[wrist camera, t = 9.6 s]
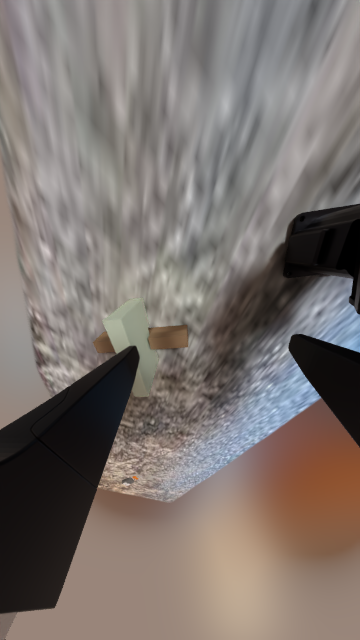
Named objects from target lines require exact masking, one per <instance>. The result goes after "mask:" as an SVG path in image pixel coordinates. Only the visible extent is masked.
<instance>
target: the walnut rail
mask: <svg viewBox="0 0 360 640" xmlns="http://www.w3.org/2000/svg"><path fill="white" fill-rule="evenodd" d="M148 330H149V334H150V335H149V337H148V340H149V343H150V347H151V350H152V349H167V348H182V347H188V329H187V325H180V326H168V327H156V328H148ZM93 344H94V346H95V348H96V350H97V352H98V353H105V352H115V350H114V347H113V345H112V343H111V340H110V338H109V336H108V333H107V332H103V333H102V334H101V335H100V336H99V337H98V338H97V339H96V340H95V341H94V342H93Z"/></svg>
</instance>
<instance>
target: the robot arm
mask: <svg viewBox="0 0 360 640" xmlns="http://www.w3.org/2000/svg"><path fill="white" fill-rule="evenodd" d="M300 217H302V220H301V221H300V220H299V219H300ZM285 261H286V263H285V268H284V273H283V276H284V277H286V278H292V277H301V276H310V275H319V274H326V275H332V276H339V277H345V278H351V279H353V286H352V294H351V296H350V297H349V303H350V304H352V305H353V306H354V307H355V309H356V312H357V313H358V314H360V204H356V205H349V206H343V207H337V208H330V209H324V210H318V211H311V212H305V213H301V214H299V215H297V216H296V218H295V220H294V224H293V229H292V234H291V237H290V239H289V244H288V249H287V254H286V259H285ZM288 272H290V274H289V275H287V274H288ZM289 351H290V353H291V354H292V356H293V358H294V359H295V361H296V362H297V364H298V366H299V367H300V369H301V370H302V372H303V374H304V375H305V377H306V378H307V379H308V381H309V382H310V383H311V385H312V386H313V387H314V388H315V390H316V391H317V392H318V394H319V395H320V396H321V398H322V399H323V400H324V402H325V403H326V404H327V405H328V407H329V408H330V409H331V411H332V412H333V413H334V415H335V416H336V417H337V418H338V420H339V421H340V422H341V424H342V425H343V426H344V428H345V429H346V430H347V431H348V433H349V434H350V435H351V437H352V438H353V439H354V441H355V442H356V443H357V444H358V446H359V447H360V353H359V352H356V351H353V350H350V349H347V348H344V347H341V346H337V345H334V344H331V343H328V342H325V341H322V340H319V339H316V338H313V337H310V336H306V335H303V334H294V335H292V336H291V340H290V343H289ZM139 360H140V355H139V352H138V349H137V347H136V346H135V345H134V346H128V347H127V348H125V349H124V350H122V351H121V352H119V353H118V354H116V355H115V356H113V357H112V358H110V359H109V360H107V361H106V362H104V363H103V364H101V365H100V366H98V367H97V368H96V369H94V370H93V371H91V372H90V373H88V374H87V375H85V376H84V377H82V378H81V379H79V380H78V381H76V382H75V383H73V384H72V385H71V386H69V387H67V388H66V389H64V390H63V391H61V392H60V393H58V394H57V395H55V396H54V397H52V398H51V399H49V400H48V401H46V402H45V403H43V404H41V405H40V406H38V407H36V408H35V409H33V410H32V411H30V412H28V413H27V414H25V415H23V416H22V417H20V418H19V419H17V420H15V421H14V422H12V423H10V424H9V425H7V426H6V427H4V428H2V429H1V430H0V640H5V637H6V635H7V633H8V631H9V629H10V627H11V624H12V623H13V620H14V618H15V616H16V614H17V612H23V611H34V610H43V609H52V608H55V606H56V604H57V601H58V599H59V596H60V593H61V591H62V588H63V585H64V582H65V579H66V576H67V573H68V571H69V568H70V565H71V562H72V559H73V556H74V553H75V550H76V548H77V545H78V542H79V539H80V536H81V534H82V531H83V528H84V525H85V522H86V519H87V516H88V513H89V511H90V508H91V505H92V502H93V499H94V496H95V493H96V491H97V487H98V485H99V482H100V479H101V476H102V473H103V470H104V467H105V465H106V462H107V459H108V456H109V453H110V450H111V448H112V445H113V442H114V439H115V436H116V433H117V430H118V428H119V425H120V422H121V419H122V416H123V413H124V410H125V408H126V405H127V402H128V399H129V396H130V393H131V390H132V388H133V385H134V381H135V377H136V373H137V369H138V365H139Z"/></svg>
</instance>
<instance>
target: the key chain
mask: <svg viewBox="0 0 360 640" xmlns="http://www.w3.org/2000/svg"><path fill="white" fill-rule="evenodd" d="M141 477H142V476H141ZM138 478H140V477H136V476H133V478H127V479H124V480H122V484H124V485H127V486H128V485H130V484H131V483H133V482H134V481H136V479H138Z"/></svg>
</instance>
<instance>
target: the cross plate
mask: <svg viewBox="0 0 360 640" xmlns="http://www.w3.org/2000/svg"><path fill="white" fill-rule="evenodd" d="M102 322H103V324H104V326H105V329H106V331H107V333H108V336H109V338H110V340H111V343H112V345H113V347H114V350H115V352H116V354H118V353H119V352H121V351H122V350H124V349H125V348H127V347H128V346H134V345H135V346H136V347H137V349H138V352H139V355H140V360H139V365H138V369H137V373H136V377H135V381H134V385H133V388H132V392H133V394H134V396H135V397H149V394H150V390H151V386H152V383H153V379H154V376H155V372H156V368H157V365H158V361H159V359H158V356H157V352H156V349H152V350H151V347H150V343H149V340H148V337H149V335H150V334H149V330H148V327H149V321H148V317H147V313H146V309H145V305H144V301H143V298H137V299H129V300H128V301H127V302H125V303H124V304H123V305H122V306H120V307H119V308H118V309H117V310H115V311H114V312H113V313H112V314H110V315H109V316H108V317H107V318H105V319H104V320H103V321H102Z"/></svg>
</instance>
